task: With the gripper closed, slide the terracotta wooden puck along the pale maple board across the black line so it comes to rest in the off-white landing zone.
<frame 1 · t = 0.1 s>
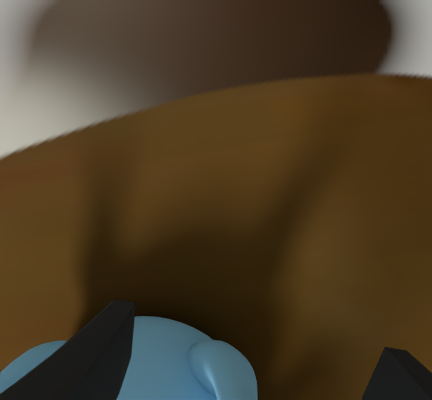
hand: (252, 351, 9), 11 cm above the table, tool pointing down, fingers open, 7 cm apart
teapot: (166, 376, 22), on the table
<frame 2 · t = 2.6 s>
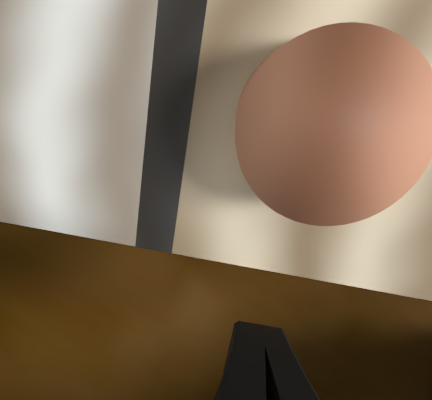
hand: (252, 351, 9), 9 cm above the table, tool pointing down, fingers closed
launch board: (196, 98, 15), on the table
puck: (313, 122, 15), point 1 cm above the table, touching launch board
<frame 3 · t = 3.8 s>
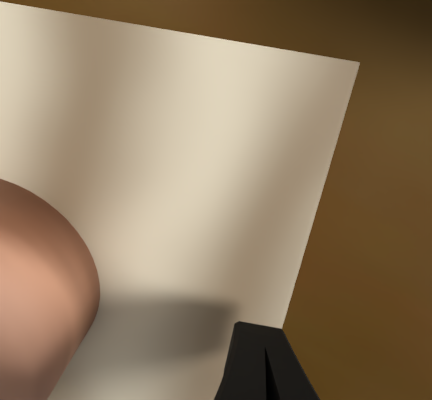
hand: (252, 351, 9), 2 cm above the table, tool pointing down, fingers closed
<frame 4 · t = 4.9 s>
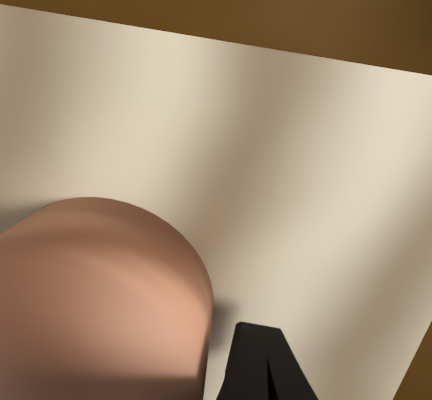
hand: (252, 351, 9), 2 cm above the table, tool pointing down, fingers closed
puck: (106, 297, 11), point 1 cm above the table, touching gripper
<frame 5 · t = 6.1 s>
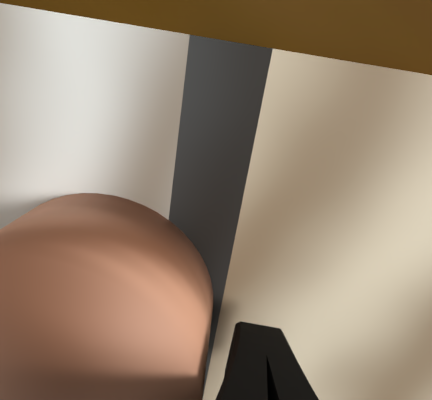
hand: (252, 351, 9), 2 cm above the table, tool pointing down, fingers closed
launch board: (220, 297, 11), on the table
puck: (106, 294, 10), point 1 cm above the table, touching gripper
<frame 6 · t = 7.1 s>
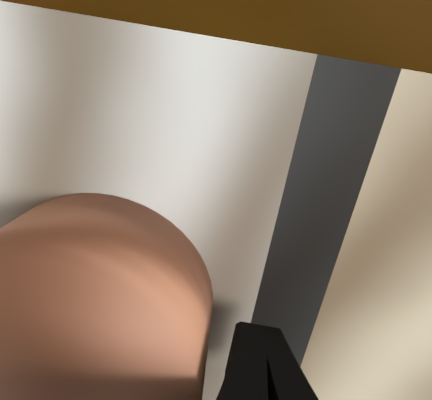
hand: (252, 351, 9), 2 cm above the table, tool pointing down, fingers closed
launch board: (305, 312, 11), on the table
puck: (105, 294, 10), point 1 cm above the table, touching gripper, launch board
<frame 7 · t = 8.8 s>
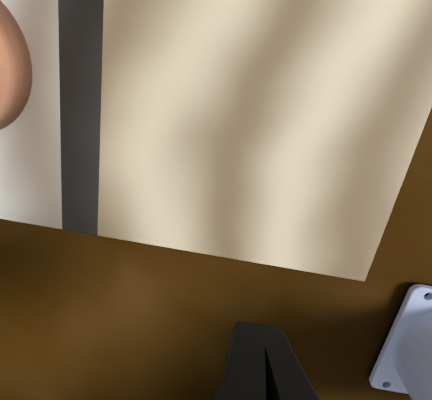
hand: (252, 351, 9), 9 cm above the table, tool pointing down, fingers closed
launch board: (109, 83, 16), on the table
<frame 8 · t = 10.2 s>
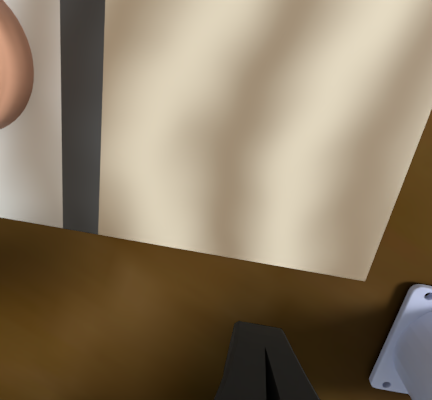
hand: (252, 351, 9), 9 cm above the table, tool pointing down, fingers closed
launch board: (110, 83, 16), on the table
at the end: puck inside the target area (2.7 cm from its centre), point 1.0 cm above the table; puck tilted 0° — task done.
